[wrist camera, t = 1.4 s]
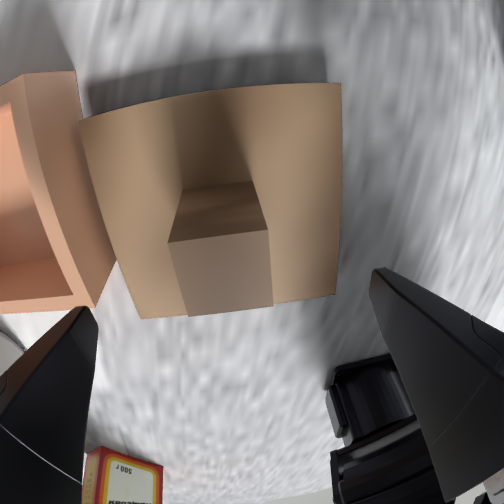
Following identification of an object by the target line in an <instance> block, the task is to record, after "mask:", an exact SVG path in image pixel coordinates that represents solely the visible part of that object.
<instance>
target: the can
mask: <svg viewBox="0 0 504 504" xmlns="http://www.w3.org/2000/svg"><path fill="white" fill-rule="evenodd" d="M23 354H24V351H23V350H22V349H21V347H20V346H19V345H17V344H16V343H15V342H14V341H13V340H12V339H11V338H10V337H8V336H7V335H6V334H4V333H2V332H1V331H0V376H1V375H2V374H3V373H4V372H5V371H6V370H8V368H9V367H10V366H11V365H12V364H13V363H14V362H15V361H16V360H17V359H18V358H19V357H20V356H21V355H23Z"/></svg>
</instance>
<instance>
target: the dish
mask: <svg viewBox="0 0 504 504" xmlns="http://www.w3.org/2000/svg"><path fill="white" fill-rule="evenodd" d="M82 119H83V116H82V111H81V105H80V99H79V93H78V87H77V80H76V73H75V71H54V72H38V73H27V74H22V75H20V76H18V77H16V78H14V79H12V80H10V81H9V82H7V83H5V84H3V85H1V86H0V314H10V313H29V312H46V311H61V310H72V309H73V308H75V307H76V306H84V305H85V306H88V307H89V308H95V307H96V305H97V303H98V300H99V298H100V295H101V293H102V291H103V288H104V286H105V284H106V282H107V279H108V277H109V275H110V273H111V270H112V268H113V266H114V264H115V262H116V260H117V258H116V256H115V253H114V250H113V247H112V244H111V241H110V238H109V235H108V232H107V229H106V226H105V223H104V220H103V217H102V213H101V210H100V207H99V204H98V200H97V197H96V193H95V190H94V186H93V182H92V179H91V175H90V171H89V167H88V163H87V159H86V155H85V151H84V146H83V142H82V137H81V133H80V128H79V123H78V121H80V120H82Z"/></svg>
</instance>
